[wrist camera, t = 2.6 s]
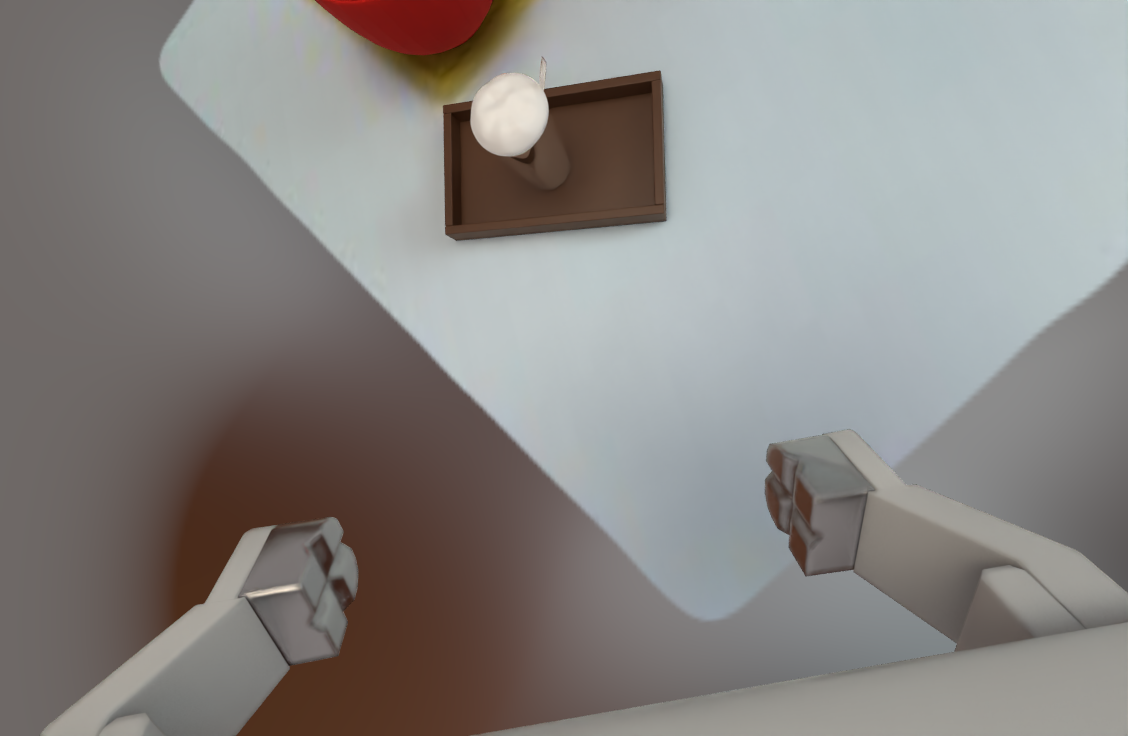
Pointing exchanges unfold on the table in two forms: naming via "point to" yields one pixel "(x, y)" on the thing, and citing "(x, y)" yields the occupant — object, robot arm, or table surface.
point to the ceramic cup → (411, 22)
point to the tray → (597, 157)
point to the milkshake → (521, 128)
